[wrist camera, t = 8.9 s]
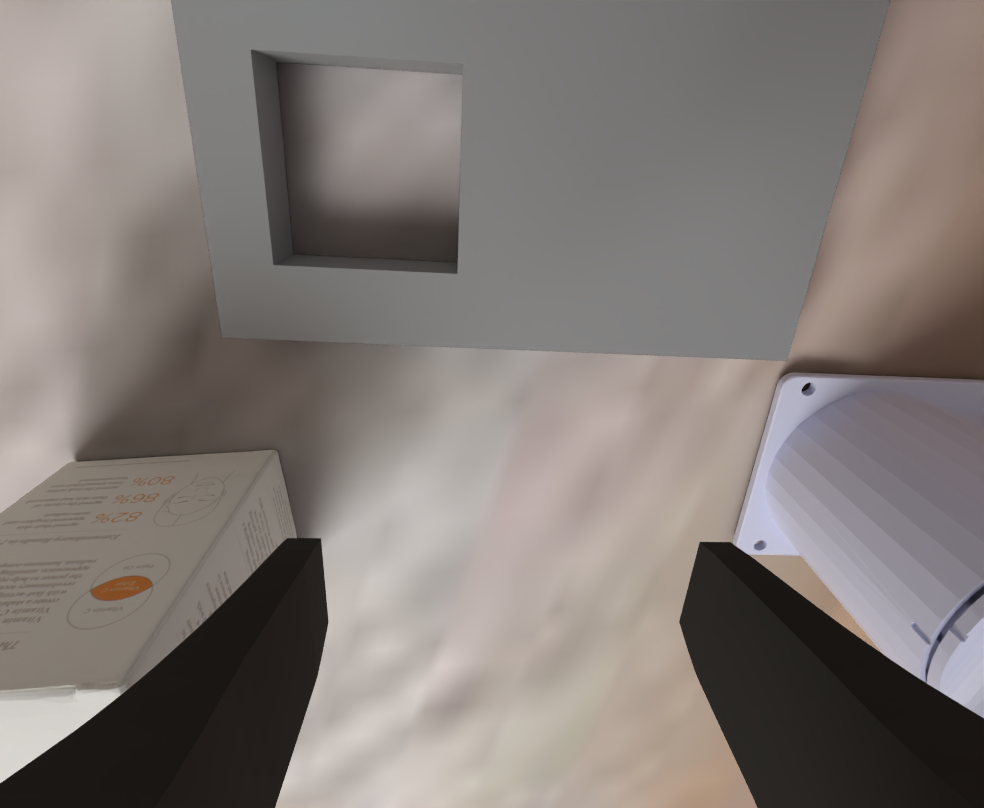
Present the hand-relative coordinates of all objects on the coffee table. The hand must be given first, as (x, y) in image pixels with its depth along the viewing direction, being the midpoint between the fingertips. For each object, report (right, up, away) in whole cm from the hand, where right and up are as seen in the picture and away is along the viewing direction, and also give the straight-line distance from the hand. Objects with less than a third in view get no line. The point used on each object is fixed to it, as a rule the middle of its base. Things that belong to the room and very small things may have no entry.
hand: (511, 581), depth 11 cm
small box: (-12, -1, +12) cm, 17 cm away
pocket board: (0, +11, +7) cm, 13 cm away
